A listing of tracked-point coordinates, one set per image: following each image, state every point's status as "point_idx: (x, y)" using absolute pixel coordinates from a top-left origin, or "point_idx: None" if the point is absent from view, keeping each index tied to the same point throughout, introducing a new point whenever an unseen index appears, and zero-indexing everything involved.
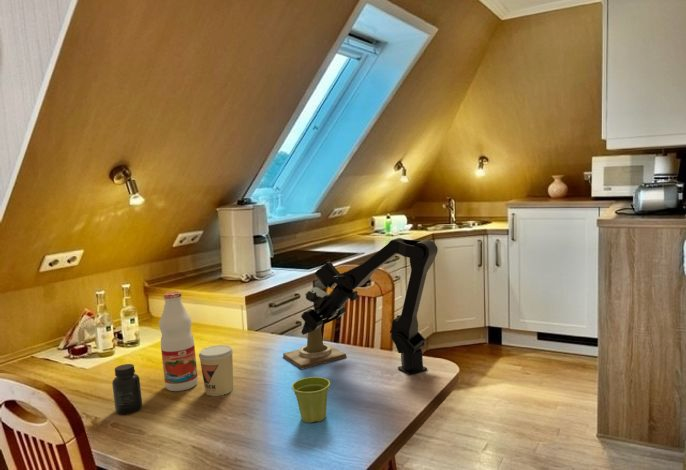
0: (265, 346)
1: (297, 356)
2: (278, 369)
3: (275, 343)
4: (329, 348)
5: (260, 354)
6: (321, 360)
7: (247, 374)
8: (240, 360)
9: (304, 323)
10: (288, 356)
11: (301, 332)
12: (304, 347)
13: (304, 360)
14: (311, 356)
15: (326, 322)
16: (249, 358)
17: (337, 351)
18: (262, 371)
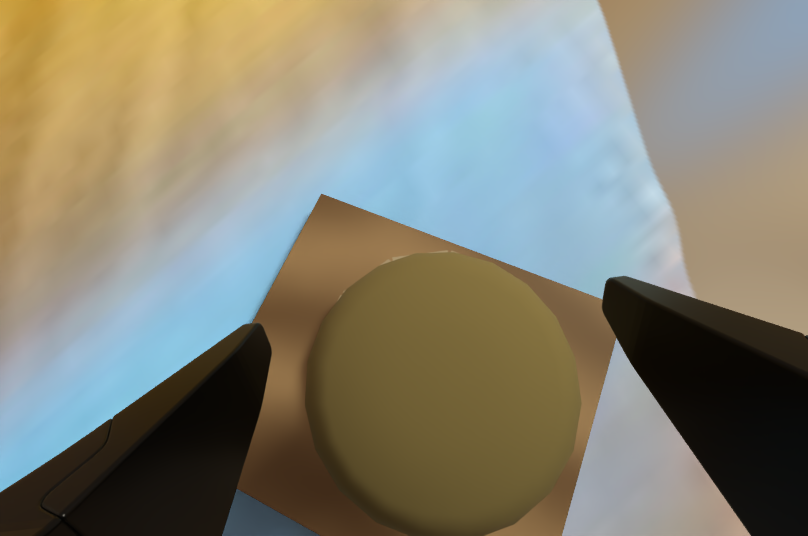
0: (415, 19)
1: (311, 311)
2: (153, 317)
3: (477, 27)
4: None
5: (309, 79)
6: (318, 532)
7: (51, 221)
8: (205, 61)
9: (25, 478)
10: (288, 260)
11: (242, 328)
12: None
13: (264, 412)
14: None
15: (699, 450)
16: (242, 75)
17: (531, 532)
18: (104, 259)
